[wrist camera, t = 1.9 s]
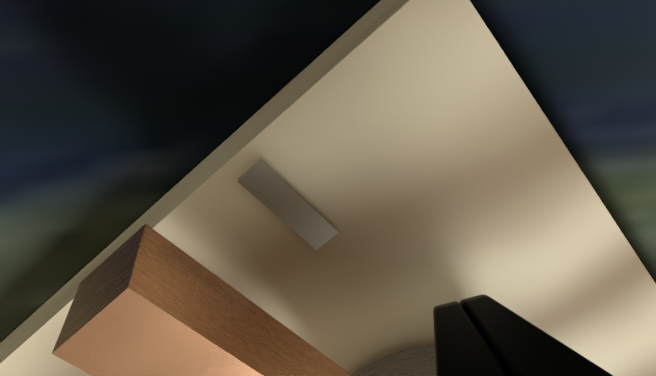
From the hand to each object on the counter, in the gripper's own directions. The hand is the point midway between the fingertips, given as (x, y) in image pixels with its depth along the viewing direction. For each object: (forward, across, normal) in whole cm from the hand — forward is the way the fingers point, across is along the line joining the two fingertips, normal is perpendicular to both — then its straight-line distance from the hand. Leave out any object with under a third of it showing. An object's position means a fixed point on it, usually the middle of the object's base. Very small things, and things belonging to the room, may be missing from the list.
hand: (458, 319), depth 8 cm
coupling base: (+8, 0, +10) cm, 12 cm away
